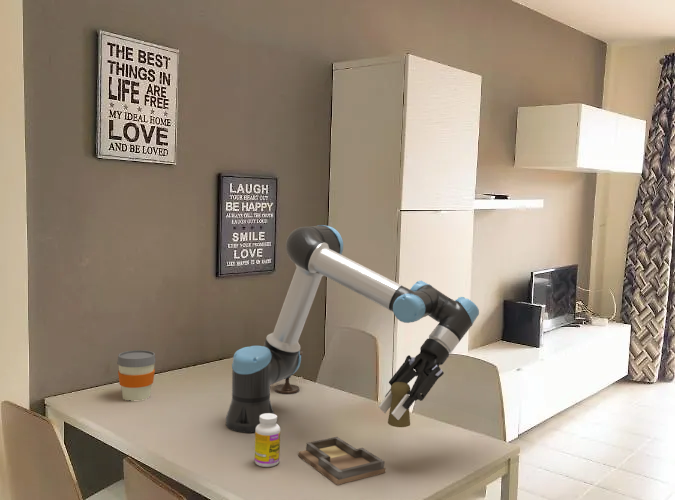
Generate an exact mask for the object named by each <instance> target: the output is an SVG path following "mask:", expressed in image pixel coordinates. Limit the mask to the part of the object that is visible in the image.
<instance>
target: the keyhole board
mask: <svg viewBox="0 0 675 500" xmlns="http://www.w3.org/2000/svg"><path fill="white" fill-rule="evenodd" d="M305 448H306V449H304V450H300V451H298V454H297V455H298V457H299V458H301V460H303V461H304V462H305V463H307V464H308V465H309V466H311V467H312V468H314V469H315V470H316V471H318V472H319V473H321V474H322V475H323V476H324V477H326V478H327V479H328V480H330V481H331V482H332V483H334V484H335V485H336V486H338V485H342V484H346V483H350V482H354V481H358V480H362V479H366V478H370V477H373V476H377V475H381V474H385V473H386V467H385V461H384V460H383V459H382V458H380V457H379V456H376V455H375V454H374V453H372V452H370V451H369V450H367V449H366V448H363V447H360V448H355V446H353V445H350V444H349V443H348V442H346V441H344V440H343V439H341V438H340V437H338V436H334V437H328V438H324V439H318V440H313V441H309V442H306V447H305Z"/></svg>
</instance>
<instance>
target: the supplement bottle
mask: <svg viewBox="0 0 675 500" xmlns="http://www.w3.org/2000/svg"><path fill="white" fill-rule="evenodd" d="M259 421H260V424H258V425H257V426H256V429H255V432H254V434H255V435H254V436H255V437H254V463H255V465H257V466H259V467H263V468H271V467H275V466H277V465H278V464H279V462H280V455H281V454H280V453H281V452H280V450H281V449H280V448H281V427H280V425H279V424H278V423H277V421H278V415H277V414H275V413H274V414H272V413H265V414H261V415H260V418H259Z"/></svg>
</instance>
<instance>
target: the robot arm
mask: <svg viewBox="0 0 675 500" xmlns="http://www.w3.org/2000/svg"><path fill="white" fill-rule="evenodd" d="M343 251H344V241H343V238H342V236H341V233H339V231H338V230H337V229H335V228H334V227H333V226H329V225H324V224H319V225H315V226H314V225H312V226H299V227H297V228H295V229H293V230H292V231H291V232H290V233H289V234H288V237H287V238H286V241H285V252H286V256H287V257H288V258H289V260H290V261H291V262H292V263H293V264H294V265H295V270H294V274H293V276H292V279H291V282H290V285H289V287H288V289H287V292H286V293H287V294H286V296H285V299H284V300H283V304H282V307H281V310H280V313H279V315H278V318H277V321H276V324H275V326H274V329H273V332H271V333H268V334H267V335H266V338H265V340H264V343H263V345H251V346H245V347H241V348H240V349H237V350H236V351H235V352H234V354H233V358H232V364H231V368H232V373H231V374H232V375H231V376H232V382H231V383H232V385H231V389H232V390H231V391H232V392H231V402H230V404H229V408H228V410H227V412H226V417H225V426H226V428H228V429H229V430H232V431H234V432H239V433H255V429H256V426H257V425H258V424H260V421H259V418H260V415H261V414H265V413H272V414H275V412H274V408H273V406H272V402H271V385H273V384H276V383H278V382H281V381H283V380H285V379H286V378H288V377H290V376H291V377H292V375H294V374H295V373H296V372H297V371H298V370H299V368H300V366H301V363H302V362H301V361H302V356H301V355H300V350H301V345H300V343H299V340H300V337H301V334H302V332H303V329H304V326H305V323H306V321H307V319H308V316H309V314H310V310H311V308H312V305H313V303H314V300H315V297H316V295H317V291H318V288H319V286H320V283H321V281H322V278H323V277H326V278H328V279H330V280H331V281H334V282H335V283H337V284H339V285H341V286H343V287H345V288H348V289H349V290H351V291H352V292H355V293H357V294H358V295H361V296H362V297H364V298H366V299H368V300H369V301H371V302H374V303H375V304H378V305H379V306H381V307H383V308H385V309H387V310H388V311H390V312H392V313H393V314H394V316H395V318H396V319H397V320H398V321H400V322H401V323H406V324H409V323H415V322H417V321H420V319H421V320H422V319H423V318H425V317H428V316H429V318H431V319H432V320H434V321H435V322H437V323H438V324H437V325H436V327H434V329H433V330H432V331H431V333H430V334H429V336H428V338H426V340H425V341H424V342H423V343H422V345H421V346H420V351H419V353H418V354H417V355H416V356H414V357H413V356H411V355H407V356H405V357H406V358H405V360H404V362H403V363H402V365H401V366H400V367H399V368H398V369H397V371H396V372H395V373H394V374H393V376H392V377H391V378H390V380H389V382H388V384H389V385H390V387H391V386H392V384H393V383H395V382H404V383H407V384H408V385H409V383H410V382H412V380H413V379H414V378H415V377H416V378H415V381H414V383H413V384H412V387H411V388H410V392H408V394H409V395H408V394H406V395H405V396H404V397H403V399H402V400H401V401H400V403H399V404H398V405H397V407H396V408H395V409H394V411H393V412H392V413H391V414H392V415H393V416H394V417H395V418H396V419H397V420H399V419H400V418H401V416H402V415H403V414H404V412H405V411H406V410H408V409H409V410H410V408H411V406H412V405H413V404H414V402H415V401H417V400H419V401H420V402H421V401H423V400H424V399H425V398H426V396H427V395H428V394H429V392H430V391H431V390H432V388H433V387H434V385H435V384H436V382H437V381H438V380H439V379H440V378H441V377H443V375H444V371H443V369H442V368H441V367H440V366H442V365H444V363H445V362H446V361H447V359H448V358H449V357H450V354H451V353H452V352H453V351H454V350H455V348H456V347H457V346H458V344H459V343H460V341H461V340H463V338H464V337H465V335H466V334H467V332H468V331H469V330H470V329H471V328H472V326H473V325H474V322H475V321H476V319H477V318H478V316H479V315H480V309H479V307H478V306H477V305H476V303H475V302H473V301H472V300H471V299H469V298H466V297H464V296H460V297H458V298H457V299H455V300H454V299H452V298H450V297H449V296H447V295H445V294H444V293H442V292H441V291H440V290H438V289H436V288H435V287H434V286H432V285H431V284H430V283H427V282H425V281H423V280H417V281H416V282H415V283H414V284H413V285H412V286H411V287H410V289H409V288H407V287H406V286H403V285H402V284H400V283H398V282H396V281H394V280H391V279H390V278H389V277H386V276H384V275H382V274H381V273H378V272H376V271H374V270H373V269H370V268H368V267H367V266H365V265H362V264H360V263H358V262H356V261H354V260H353V259H351V258H348V257H347V256H345V255H342V254H343V253H344V252H343ZM392 396H393V395H392V393H391V388H390V389H389V390H388V392H387V393H386V394H385V395H384V399H382V401H381V402H380V404H379V405H378V406H377V407H378V408H379V409H380V410H381V411H382V412H383V413H384V414H386V413H387V412H388V411H389V410H390V407H391V401H392Z"/></svg>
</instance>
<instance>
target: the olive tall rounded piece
mask: <svg viewBox="0 0 675 500" xmlns="http://www.w3.org/2000/svg"><path fill="white" fill-rule="evenodd" d="M390 389H391V393H392V395H393V396H392V401H391V406H390V408H389V413H388V419H387V424H388V426H391V427H396V428H408V427H409V426H410V425H411V419H410V418H411V416H410V408H409V409H408V410H406V411H405V412H404V414H403V415H402V416H401V418H400V419H399V420H397V419H396V418H395V417H394V416H393V415H392V414H391V413H392V412H393V411H394V409H395V408H396V407H397V405H398V404H399V403H400V401H401V400H402V399H403V397H404V396H405V395H406V394H408V392H410V391H411V387H410V384H409V383H408V384H407V383H404V382H395V383H393V384H392V386H391V385H390ZM408 395H409V394H408ZM409 396H410V395H409Z"/></svg>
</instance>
